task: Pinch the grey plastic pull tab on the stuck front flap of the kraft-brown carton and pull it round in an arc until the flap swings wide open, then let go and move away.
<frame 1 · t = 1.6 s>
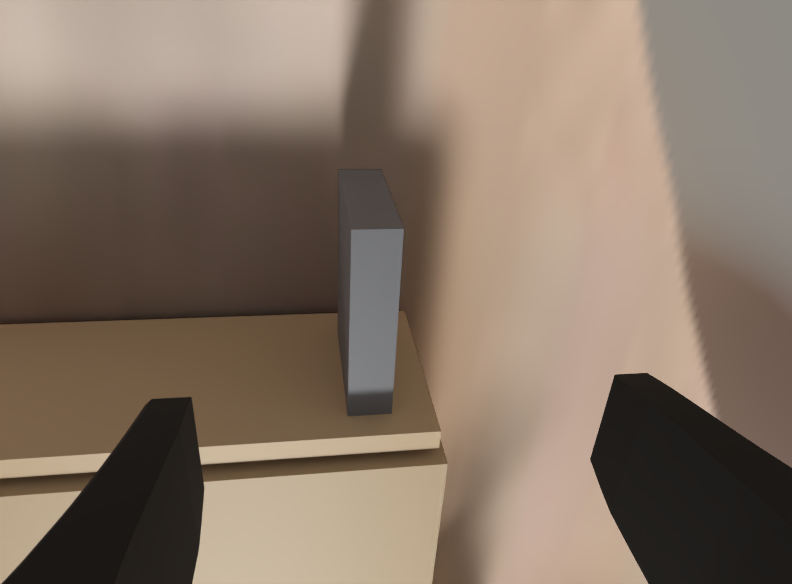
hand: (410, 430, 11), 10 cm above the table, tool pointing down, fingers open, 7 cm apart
front flap: (138, 302, 17), point 3 cm above the table, hinge at 0.0°
carton: (190, 445, 24), on the table
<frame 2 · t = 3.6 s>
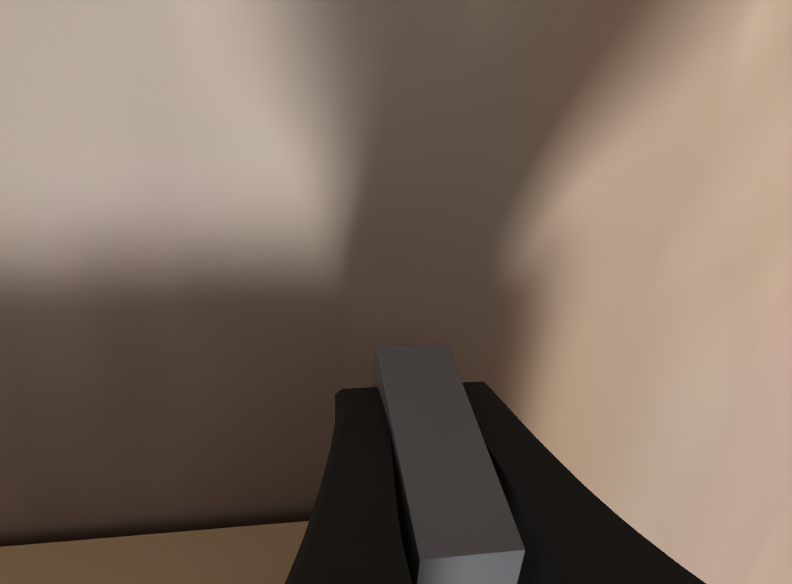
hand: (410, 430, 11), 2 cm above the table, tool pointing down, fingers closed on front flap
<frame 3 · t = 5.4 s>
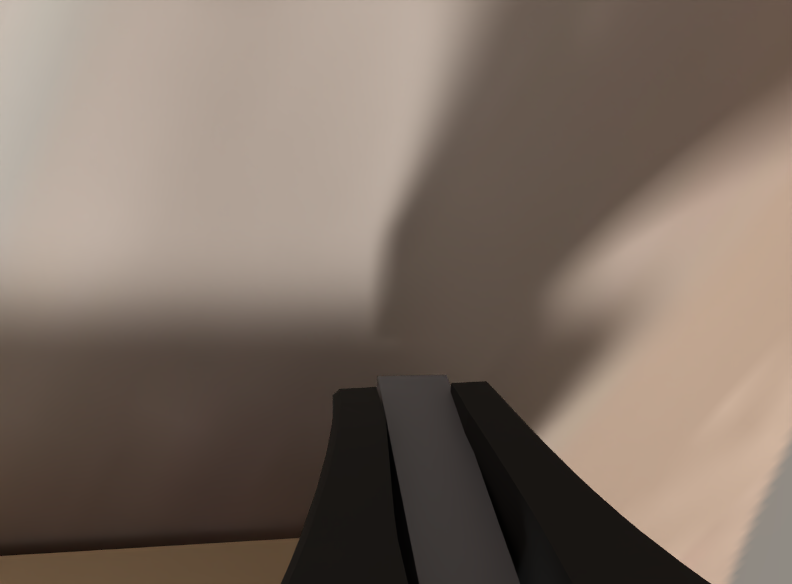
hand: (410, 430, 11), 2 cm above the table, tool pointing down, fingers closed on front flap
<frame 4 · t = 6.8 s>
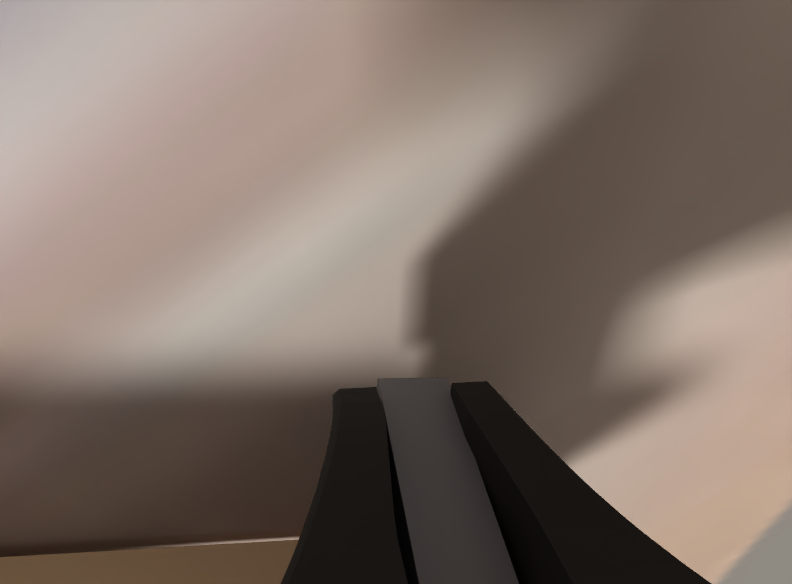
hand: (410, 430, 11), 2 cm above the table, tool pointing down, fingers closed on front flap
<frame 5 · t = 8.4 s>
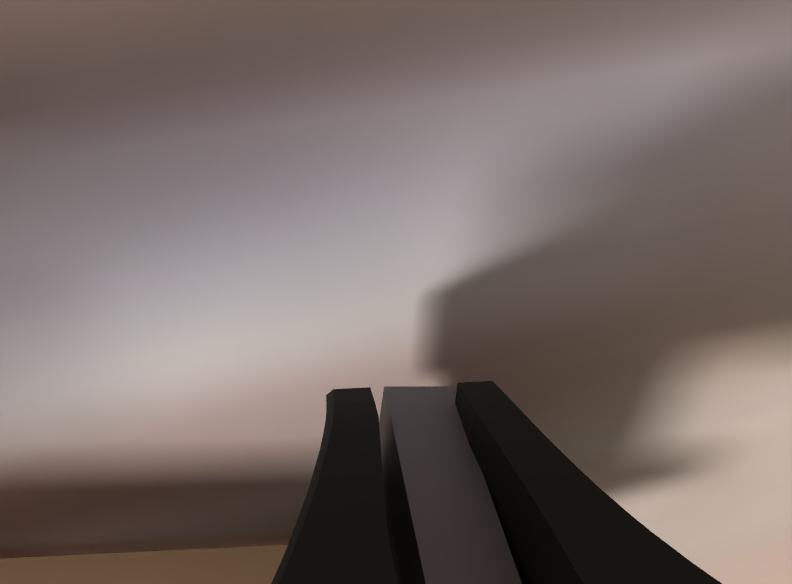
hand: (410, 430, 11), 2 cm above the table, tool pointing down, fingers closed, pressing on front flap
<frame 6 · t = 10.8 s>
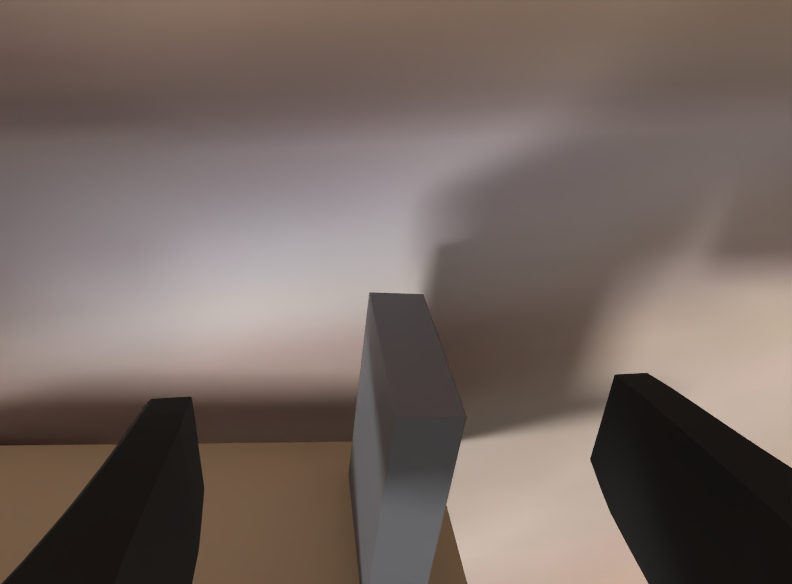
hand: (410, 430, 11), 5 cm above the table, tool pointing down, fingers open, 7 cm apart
front flap: (97, 460, 13), point 3 cm above the table, hinge at 71.1°
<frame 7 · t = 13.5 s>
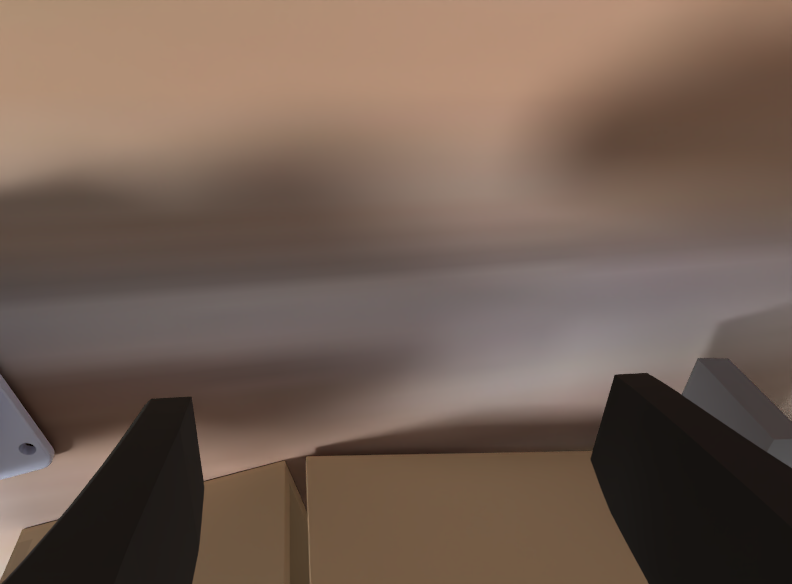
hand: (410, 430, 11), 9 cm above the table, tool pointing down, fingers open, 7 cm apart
front flap: (549, 463, 21), point 3 cm above the table, hinge at 71.1°
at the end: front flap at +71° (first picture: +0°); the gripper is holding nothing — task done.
